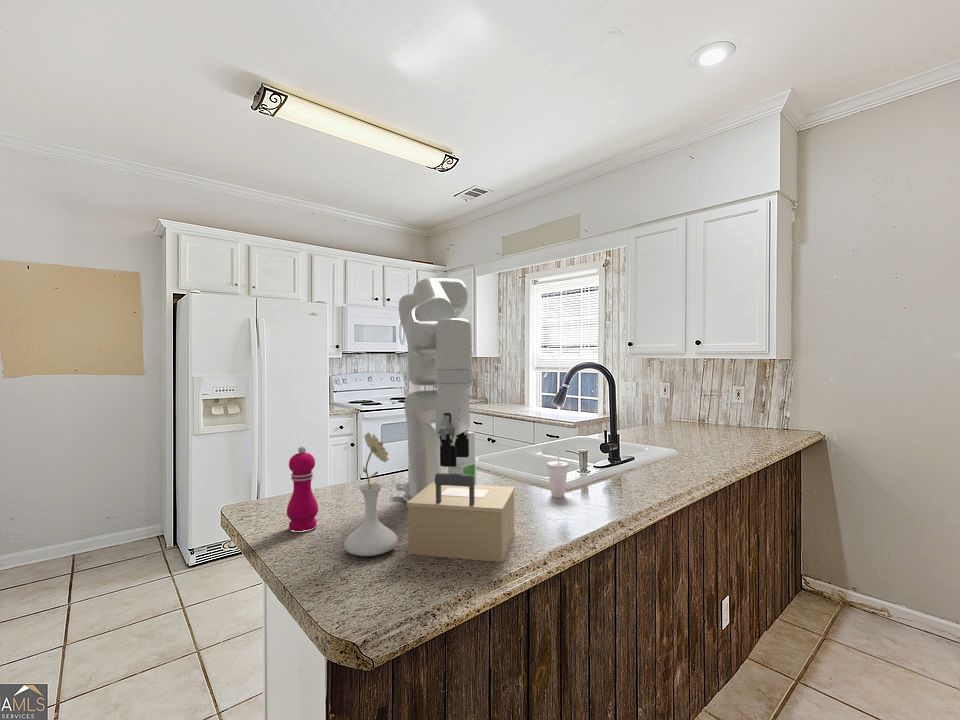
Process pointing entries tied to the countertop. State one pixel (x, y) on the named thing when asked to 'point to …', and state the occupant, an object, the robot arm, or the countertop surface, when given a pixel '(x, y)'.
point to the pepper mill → (302, 492)
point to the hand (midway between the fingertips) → (455, 461)
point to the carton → (461, 533)
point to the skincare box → (465, 460)
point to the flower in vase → (371, 514)
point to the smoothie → (557, 476)
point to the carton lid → (462, 494)
